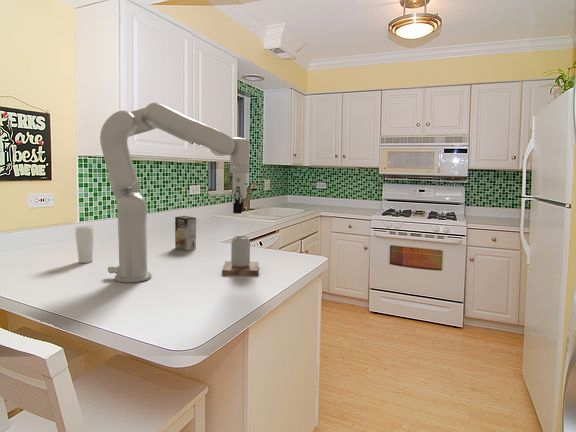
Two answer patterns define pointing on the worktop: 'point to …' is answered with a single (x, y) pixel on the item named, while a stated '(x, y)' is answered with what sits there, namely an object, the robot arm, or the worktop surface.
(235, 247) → the can
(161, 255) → the worktop surface
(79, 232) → the drinking glass
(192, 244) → the coffee box
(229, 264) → the walnut board
